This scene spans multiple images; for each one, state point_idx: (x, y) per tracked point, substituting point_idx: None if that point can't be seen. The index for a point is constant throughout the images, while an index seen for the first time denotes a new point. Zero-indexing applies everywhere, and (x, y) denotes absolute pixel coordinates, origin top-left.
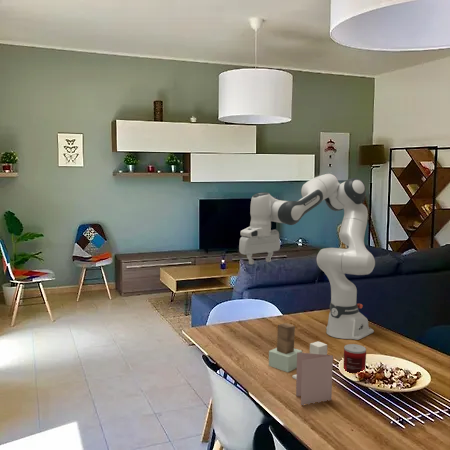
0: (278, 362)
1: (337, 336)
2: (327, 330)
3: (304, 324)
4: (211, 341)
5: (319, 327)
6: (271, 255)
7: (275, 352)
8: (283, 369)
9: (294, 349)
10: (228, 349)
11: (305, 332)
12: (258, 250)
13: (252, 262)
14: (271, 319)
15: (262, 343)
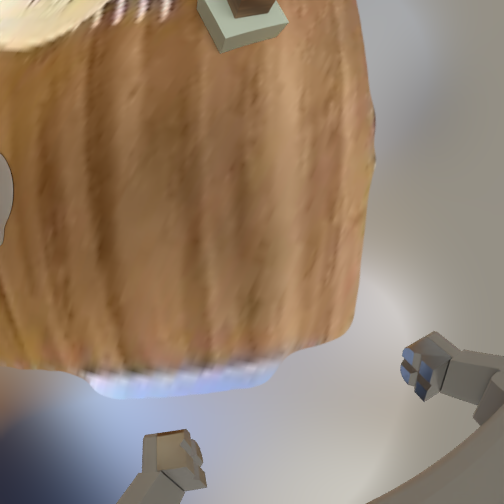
0: None
1: (3, 161)
2: (6, 206)
3: (40, 294)
4: (337, 242)
5: (13, 259)
6: (134, 497)
7: (276, 8)
8: None
9: (214, 2)
10: (324, 171)
11: (55, 231)
12: (484, 471)
13: (433, 344)
14: (114, 357)
15: (215, 179)
